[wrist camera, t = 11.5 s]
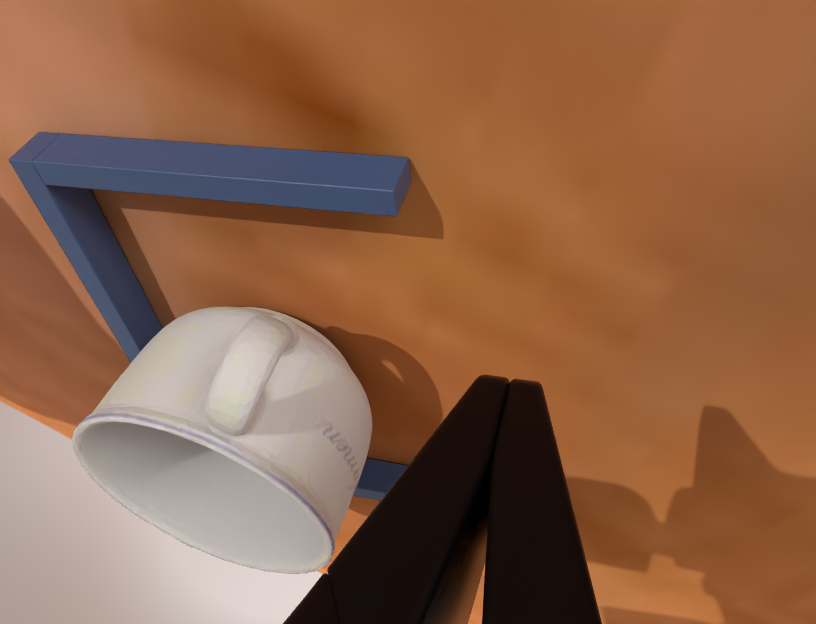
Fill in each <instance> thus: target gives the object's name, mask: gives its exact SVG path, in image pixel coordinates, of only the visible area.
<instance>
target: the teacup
mask: <svg viewBox="0 0 816 624" xmlns="http://www.w3.org/2000/svg"><path fill="white" fill-rule="evenodd" d="M371 435H372V415H371V409H370V404H369V401H368V398H367V396H366V393H365V391H364V389H363V387H362V385H361V383H360V382H359V380H358V378H357V377H356V375H355V374H354V373H353V371H352V370H351V369H350V366H349V364H348V363H347V361H346V360H345V358H344V357H343V355H342V354H341V353H340V352H339V350H338V349H337V348H336V347H335V346H334V345H333V344H332V343H331V342H330V341H329V340H328V339H327V338H325V337H324V336H323V335H322V334H320V333H319V332H318V331H316V330H315V329H313V328H312V327H310V326H308V325H307V324H305V323H303V322H301V321H299V320H297V319H295V318H293V317H291V316H288V315H286V314H283V313H279V312H276V311H273V310H269V309H262V308H255V307H209V308H203V309H199V310H195V311H192V312H189V313H187V314H185V315H183V316H180V317H178V318H177V319H175V320H173V321H172V322H171V323H169V324H168V325H167V326H165V327H164V328H163V329H162V330H161V331H160V332H159V333H158V334H157V335H155V336H154V337H153V338H152V339H151V340H150V342H149V343H148V344H147V345H146V346H145V347H144V348H143V349H142V351H141V352H140V353H139V354H138V355H137V356H136V358H135V359H134V360H133V361H132V362H131V364H130V365H129V366H128V367H127V369H126V370H125V371H124V372H123V373H122V375H121V376H120V377H119V378H118V380H117V381H116V382H115V383H114V385H113V386H112V387H111V389H110V390H109V391H108V392H107V394H106V395H105V396H104V398H103V399H102V400H101V402H100V403H99V404H98V406H97V407H96V408H95V410H94V411H93V412H92V413H91V414H90V415H89V416H87V417H86V418H85V419H83V420H82V421H81V422H80V424H79V425H78V426H77V428H76V429H75V431H74V433H73V438H72V440H73V448H74V452H75V454H76V456H77V458H78V460H79V461H80V463H81V465H82V467H83V468H85V470H86V471H87V473H88V474H89V475H90V476H91V478H92V479H93V480H94V481H95V482H96V483H97V484H98V485H99V486H100V487H101V488H102V489H103V490H104V491H105V492H107V493H108V494H109V495H110V496H111V497H112V498H114V499H115V500H116V501H117V502H118V503H120V504H121V505H122V506H124V507H125V508H127V509H128V510H129V511H131V512H132V513H134V514H135V515H137V516H138V517H139V518H141V519H142V520H144V521H146V522H148V523H150V524H152V525H154V526H155V527H156V528H158V529H160V530H161V531H163V532H165V533H166V534H168V535H170V536H172V537H174V538H176V539H177V540H179V541H180V542H182V543H184V544H186V545H188V546H190V547H193V548H196V549H198V550H201V551H203V552H206V553H208V554H210V555H213V556H215V557H218V558H220V559H223V560H226V561H229V562H232V563H236V564H239V565H242V566H246V567H250V568H255V569H259V570H263V571H270V572H277V573H288V574H300V573H308V572H312V571H317V570H319V569H321V568H322V567H324V566H326V565H327V564H328V563H329V562H330V561H331V558H332V556H333V553H334V550H335V541H336V540H335V539H336V537H337V534H338V532H339V530H340V527H341V525H342V522H343V520H344V517H345V515H346V513H347V510H348V508H349V505H350V502H351V500H352V497H353V495H354V492H355V489H356V487H357V484H358V481H359V479H360V476H361V473H362V470H363V467H364V464H365V461H366V458H367V454H368V450H369V446H370V441H371Z"/></svg>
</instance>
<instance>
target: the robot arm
mask: <svg viewBox="0 0 816 624" xmlns="http://www.w3.org/2000/svg"><path fill="white" fill-rule="evenodd" d="M485 561H486V563H485ZM484 564H485V581H484V599H483V617H482V624H602V622H601V618H600V614H599V610H598V606H597V602H596V598H595V594H594V590H593V586H592V582H591V578H590V574H589V570H588V566H587V562H586V558H585V554H584V550H583V546H582V543H581V539H580V535H579V531H578V527H577V523H576V519H575V515H574V511H573V507H572V503H571V499H570V495H569V491H568V487H567V483H566V479H565V475H564V471H563V467H562V463H561V459H560V455H559V451H558V447H557V443H556V439H555V435H554V431H553V427H552V423H551V419H550V415H549V411H548V407H547V403H546V399H545V395H544V391H543V388H542V385H541V384H540V383H539V382H536V381H528V380H521V379H514V380H512V381H511V382H510V381H509V380H508V379H507V378H505V377H498V376H491V375H481V376H479V377H478V378H477V379H476V380H475V381H474V382H473V384H472V385H471V386H470V387H469V389H468V390H467V391H466V393H465V394H464V395H463V396H462V398H461V399H460V400H459V401H458V403H457V404H456V405H455V407H454V408H453V409H452V410H451V412H450V413H449V414H448V416H447V417H446V418H445V419H444V421H443V422H442V423H441V424H440V426H439V427H438V428H437V430H436V431H435V432H434V433H433V435H432V436H431V437H430V438H429V440H428V441H427V442H426V444H425V445H424V446H423V447H422V449H421V450H420V451H419V453H418V454H417V455H416V456H415V458H414V459H413V460H412V461H411V463H410V464H409V465H408V467H407V468H406V469H405V470H404V472H403V473H402V474H401V476H400V477H399V478H398V479H397V481H396V482H395V483H394V484H393V486H392V487H391V488H390V490H389V491H388V492H387V493H386V495H385V496H384V497H383V498H382V500H381V501H380V502H379V504H378V505H377V506H376V507H375V509H374V510H373V511H372V513H371V514H370V515H369V516H368V518H367V519H366V520H365V521H364V523H363V524H362V525H361V527H360V528H359V529H358V530H357V532H356V533H355V534H354V536H353V537H352V538H351V539H350V541H349V542H348V543H347V544H346V546H345V547H344V548H343V550H342V551H341V552H340V553H339V555H338V556H337V557H336V558H335V560H334V561H333V562H332V564H331V565H330V566H329V567H328V574H326V573H325V574H323V575H322V576H321V577H320V578H319V580H318V581H317V582H316V584H315V585H314V586H313V587H312V589H311V590H310V591H309V593H308V594H307V595H306V596H305V598H304V599H303V600H302V601H301V602H300V604H299V605H298V606H297V607H296V609H295V610H294V611H293V612H292V613H291V615H290V616H289V617H288V618H287V619H286V621H285V622H284V623H283V624H468V621H469V617H470V614H471V610H472V607H473V603H474V600H475V596H476V593H477V589H478V585H479V582H480V578H481V575H482V571H483V568H484Z"/></svg>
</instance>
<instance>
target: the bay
mask: <svg viewBox="0 0 816 624" xmlns="http://www.w3.org/2000/svg"><path fill="white" fill-rule="evenodd" d="M9 162H10V163H11V165H12V167H13V168H14V170H15V172H16V173H17V175H18V177H19V178H20V180H21V182H22V183H23V185H24V187H25V188H26V190H27V191H28V193H29V195H30V196H31V198H32V200H33V201H34V203H35V205H36V206H37V208H38V210H39V211H40V213H41V215H42V216H43V218H44V220H45V221H46V223H47V225H48V226H49V228H50V230H51V231H52V233H53V235H54V236H55V238H56V240H57V241H58V243H59V245H60V246H61V248H62V250H63V251H64V253H65V255H66V256H67V258H68V260H69V261H70V263H71V264H72V266H73V268H74V269H75V271H76V273H77V274H78V276H79V278H80V279H81V281H82V283H83V284H84V286H85V288H86V289H87V291H88V293H89V294H90V296H91V298H92V299H93V301H94V303H95V304H96V306H97V308H98V309H99V311H100V313H101V314H102V316H103V318H104V319H105V321H106V323H107V324H108V326H109V328H110V329H111V331H112V333H113V334H114V336H115V338H116V339H117V341H118V342H119V344H120V346H121V347H122V349H123V351H124V352H125V354H126V356H127V357H128V359H129V361H130V362H132V361H133V360H134V359H135V358H136V356H137V355H138V354H139V353H140V352H141V351H142V349H143V348H144V347H145V346H146V345H147V344H148V343H149V342H150V340H151V339H152V338H153V337H154V336H155V335H157V334H158V333H159V332H160V331H161V330H162V329H163V328H162V326H161V324H160V323H159V321H158V319H157V317H156V315H155V313H154V311H153V309H152V307H151V305H150V303H149V301H148V299H147V298H146V296H145V294H144V292H143V290H142V288H141V286H140V284H139V282H138V280H137V278H136V276H135V275H134V273H133V271H132V269H131V267H130V265H129V263H128V261H127V259H126V257H125V255H124V253H123V251H122V250H121V248H120V246H119V244H118V242H117V240H116V238H115V236H114V234H113V232H112V230H111V228H110V226H109V225H108V223H107V221H106V219H105V217H104V215H103V213H102V211H101V209H100V207H99V205H98V203H97V202H96V200H95V198H94V196H93V194H92V192H91V190H90V189H98V190H109V191H120V192H131V193H142V194H153V195H164V196H175V197H186V198H197V199H208V200H219V201H230V202H241V203H252V204H263V205H274V206H285V207H296V208H307V209H318V210H329V211H340V212H351V213H362V214H373V215H384V216H397V215H398V212H399V210H400V207H401V205H402V203H403V200H404V198H405V196H406V193H407V191H408V188H409V186H410V184H411V178H410V169H409V160H408V158H407V157H394V156H379V155H365V154H350V153H336V152H321V151H307V150H292V149H278V148H263V147H249V146H234V145H220V144H205V143H191V142H176V141H162V140H147V139H133V138H118V137H104V136H89V135H75V134H59V133H45V132H39V133H37V134H36V135H35V136H34V137H33V138H32V139H31V140H30V141H28V142H27V143H26V144H25V145H24V146H23V147H22V148H21V149H20V150H18V151H17V152H16V153H15V154H14V155H13V156H12V157H11V158H10V159H9ZM407 467H408V466H407V465H401V464H396V463H390V462H385V461H379V460H374V459H368V458H366V461H365V464H364V467H363V470H362V473H361V476H360V479H359V481H358V484H357V487H356V489H355V492H354V495H353V496H358V497H363V498H368V499H374V500H379V501H381V500H382V498H383V497H384V496H385V495H386V493H387V492H388V491H389V490H390V488H391V487H392V486H393V484H394V483H395V482H396V481H397V479H398V478H399V477H400V476H401V474H402V473H403V472H404V470H405V469H406V468H407Z"/></svg>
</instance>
